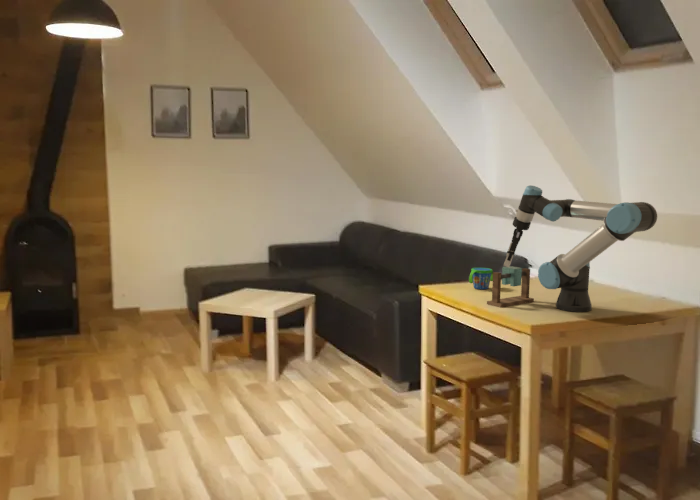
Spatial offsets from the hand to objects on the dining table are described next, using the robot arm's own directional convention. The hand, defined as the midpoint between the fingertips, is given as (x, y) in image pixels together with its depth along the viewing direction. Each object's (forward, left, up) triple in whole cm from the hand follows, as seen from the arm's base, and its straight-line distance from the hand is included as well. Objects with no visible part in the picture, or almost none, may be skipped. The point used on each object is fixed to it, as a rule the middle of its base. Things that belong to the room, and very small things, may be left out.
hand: (507, 260), depth 334 cm
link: (-3, 0, -11) cm, 11 cm away
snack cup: (+30, -16, -19) cm, 39 cm away
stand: (-3, 0, -19) cm, 19 cm away
